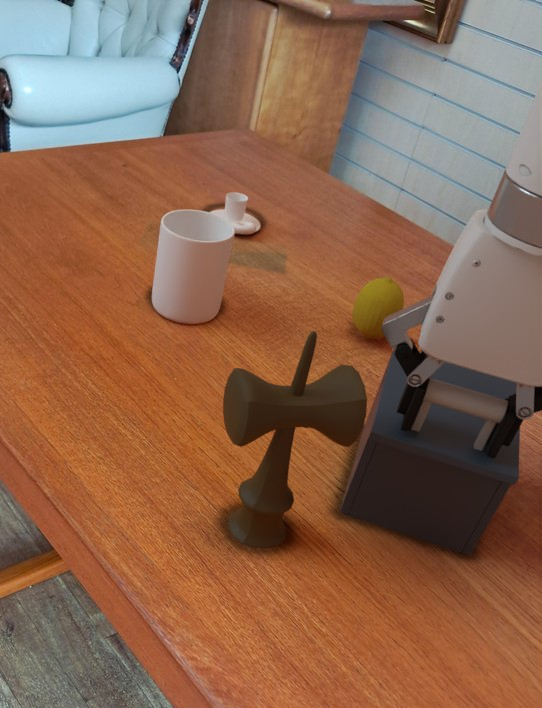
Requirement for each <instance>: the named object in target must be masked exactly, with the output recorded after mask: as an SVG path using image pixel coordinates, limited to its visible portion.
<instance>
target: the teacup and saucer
mask: <svg viewBox="0 0 542 708" xmlns="http://www.w3.org/2000/svg"><path fill="white" fill-rule="evenodd" d="M248 202H249V197H248V196H247V195H245V194H243V193H241V192H236V191H231V192H230V191H229V192H228V193H226V195H225V203H224V208H221V209H214V210H210V211H209V213H212V214H215V215H218V216H220V217H222V218H224V219H226V220H227V221H229V222H230V223H231V224H232V225H233V227H234V229H235V234H236V235H253V234H254V233H257V232H258V231H260V229H261V227H262V226H261V222H260V221H259V220H258V219H257V218H256V217H254V216H253V215H251V214H248V213H246V210H247V205H248ZM235 234H234V235H235Z"/></svg>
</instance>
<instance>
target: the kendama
mask: <svg viewBox="0 0 542 708" xmlns="http://www.w3.org/2000/svg"><path fill="white" fill-rule="evenodd" d="M317 339H318V333H317V331H315V330H312V331H310V332H309V334H308V336H307V337H306V341H305V343H304V346H303V348H302V351H301V355H300V357H299V361H298V364H297V366H296V370H295V373H294V375H293V379H292V382H291V385H284V384H283V385H281V384H275V383H271V382H269V381H267V380H264V379H263V378H261V377H260V376H258V375H256V374H254V373H253V372H251V371H249V370H247V369H244V368H241V367H235V368H233V369H232V370H231V372H230V374H229V375H228V377H227V380H226V383H225V386H224V390H223V391H224V392H223V399H222V414H223V423H224V429H225V430H226V431H225V432H226V434H227V436H228V438H229V439H230V441H231V443H232V445H235V446H237V447H244V446H247V445H249V444H252V443H253V442H254V441H256V440H258V439H259V438H261V437H263V436H265V435H267V434H269V433H270V432H273V431H274V433H273V435H272V438H271V440H270V442H269V444H268V447H267V449H266V450H265V451H266V452H265V454H264V455H263V458H262V459H261V462H260V464H259V466H258V467H257V469H256V471H255V472H254V474H253V475H252V476H251V477H249V478H247V479H245V480H243V481H241V482H240V485H239V487H238V489H237V490H238V491H237V492H238V497H239V500H240V501H241V505H240V508H237V509H235V510H234V511H232V512H231V513H230V514H229V516H228V518H227V526H228V527H227V528H228V530H229V532H230V534H231V536H232V537H233V539H235V540H236V541H238V542H239V543H240V544H241V545H244V546H246V547H250V548H253V549H269V548H275V547H277V546H279V545H281V544H282V543H284V542H285V539H286V538H287V529H286V525H285V522H284V521H283V518H284V514H286V512H288V511H290V510H291V509H292V507H293V505H294V503H295V497H294V492H293V491H292V489H291V488H290V486H289V484H288V483H289V471H290V462H291V455H292V448H293V443H294V437H295V431H296V428H304V429H314V430H316V431H317V432H318V433H320V434H322V435H323V436H325V437H326V438H328V440H330V441H332V442H333V443H335V444H337V445H339V446H342V447H344V448H348V447H351V446H352V445H354V444H355V443H356V442H357V440H358V438H359V436H360V434H362V432H363V429H364V426H365V422H366V417H367V410H368V409H367V407H368V405H367V404H368V397H367V391H366V386H365V383H364V381H363V379H362V376H361V375H360V372H359V371H358V370H357V368H355V367H354V366H353V365H351V364H340V365H338V366H335V367H334V368H333V369H331V370H330V371H328V372H327V373H326V374H324V375H323V376H321V377H320V378H318V379H316V380H315V381H312V382H310V383H307V382H308V377H309V373H310V370H311V366H312V362H313V358H314V354H315V349H316V345H317V341H318V340H317Z"/></svg>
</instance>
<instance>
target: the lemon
mask: <svg viewBox="0 0 542 708" xmlns="http://www.w3.org/2000/svg"><path fill="white" fill-rule="evenodd" d="M404 305H405V297H404V292H403V289H402V288H401V286H400V285H399V284H398V283H397V282H396V281H395V280H393V278H392V277H390V276H385V277H377V278H373V279H371V280H370V281H368V282H367V283H366V284H364V286H363V287H362V288H361V290H360V291H359V292H358V294H357V296H356V298H355V301H354V304H353V309H352V321H353V324H354V327H355V328H356V330H357V331H358V332H359V333H360V334H362V335H363V336H364V338H365V339H366V340H372V339H376V338H382V337H385V336H384V334H383V333H382V330H381V328H382V324H383V321H384V319H385V318H386V317H387V316H389V315H391V314H393V313H395V312H397V311H400V310H402V309H404Z"/></svg>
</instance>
